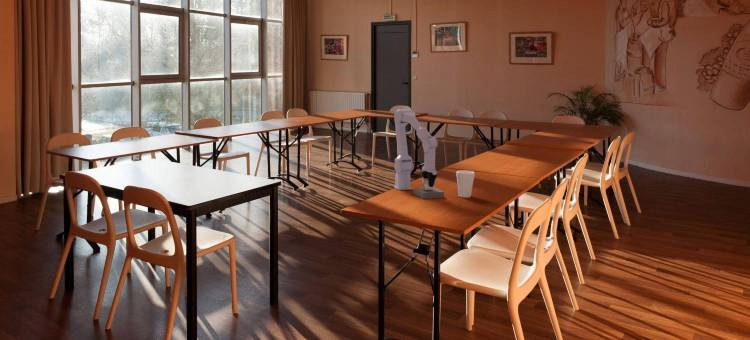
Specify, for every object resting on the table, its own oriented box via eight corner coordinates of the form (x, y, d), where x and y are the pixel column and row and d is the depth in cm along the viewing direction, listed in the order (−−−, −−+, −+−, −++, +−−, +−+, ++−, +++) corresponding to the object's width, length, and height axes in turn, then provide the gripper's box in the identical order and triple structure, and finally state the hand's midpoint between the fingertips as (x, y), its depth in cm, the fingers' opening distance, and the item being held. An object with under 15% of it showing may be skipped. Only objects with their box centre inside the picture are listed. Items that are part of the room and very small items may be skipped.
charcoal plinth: (413, 194, 356) (413, 188, 355) (434, 192, 360) (434, 187, 359) (422, 198, 344) (423, 193, 344) (443, 197, 349) (443, 191, 348)
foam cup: (459, 198, 346) (460, 174, 344) (452, 194, 355) (453, 170, 353) (476, 197, 349) (477, 173, 347) (469, 193, 358) (470, 170, 355)
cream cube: (422, 187, 353) (422, 178, 352) (430, 187, 354) (430, 178, 353) (426, 189, 348) (426, 180, 347) (434, 189, 350) (434, 180, 349)
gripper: (417, 158, 354) (416, 183, 356) (428, 163, 340) (427, 188, 343) (429, 157, 356) (428, 182, 359) (440, 162, 343) (440, 188, 345)
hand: (428, 185), depth 351 cm, fingers closed on cream cube, 5 cm apart
